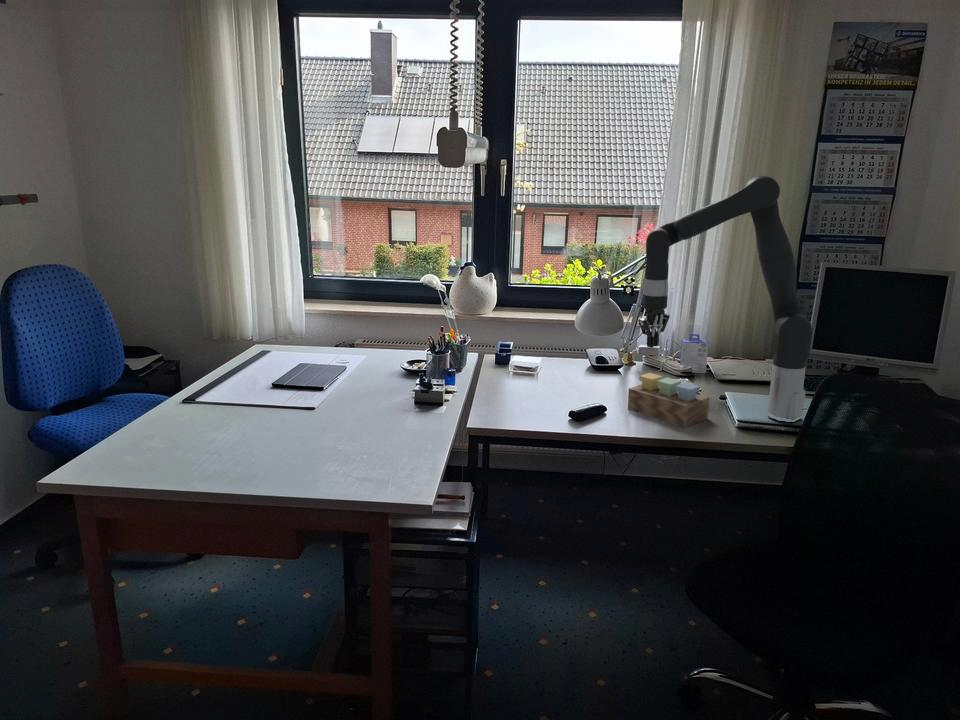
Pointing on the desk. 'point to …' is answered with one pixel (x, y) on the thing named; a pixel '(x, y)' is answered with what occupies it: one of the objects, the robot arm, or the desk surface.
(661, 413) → the control box
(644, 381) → the button ochre
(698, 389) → the button slate
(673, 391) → the button sage
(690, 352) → the ink cartridge box
